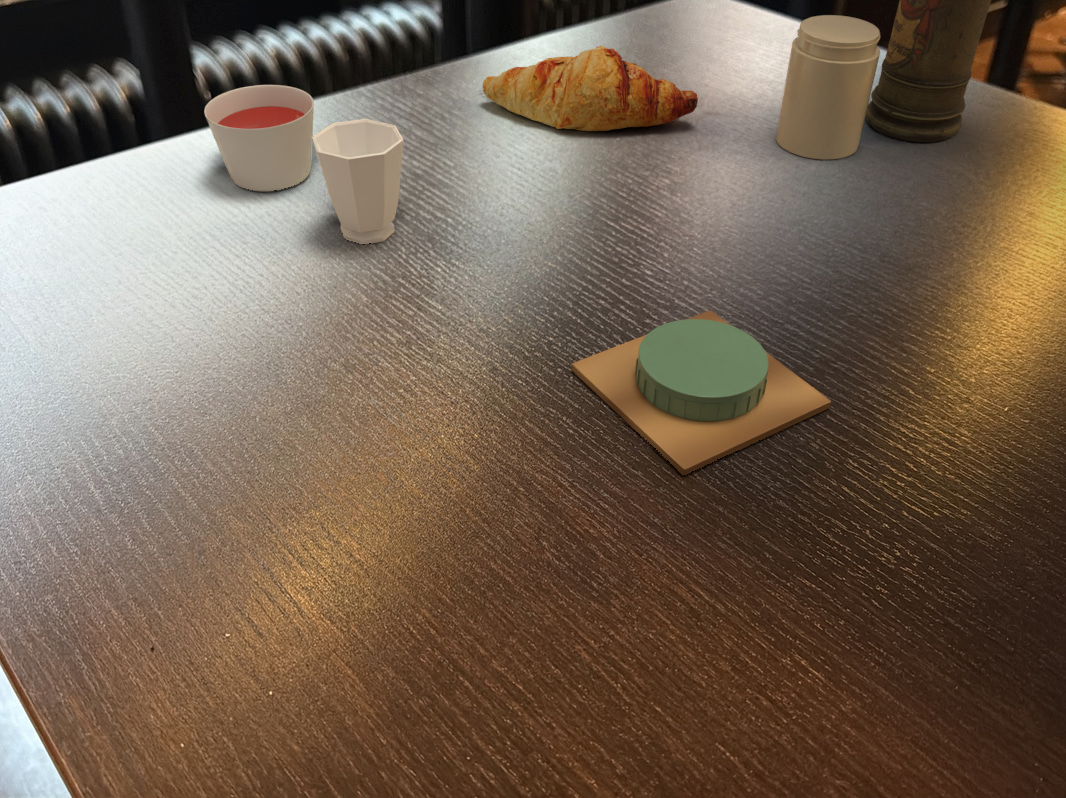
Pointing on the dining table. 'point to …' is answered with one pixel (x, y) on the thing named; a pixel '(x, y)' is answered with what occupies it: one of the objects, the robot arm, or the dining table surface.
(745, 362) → the lid
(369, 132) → the cup
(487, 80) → the croissant
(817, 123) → the jar
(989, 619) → the dining table surface
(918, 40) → the container
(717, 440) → the coaster
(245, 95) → the candle
